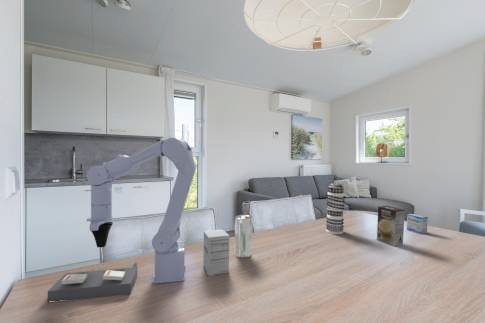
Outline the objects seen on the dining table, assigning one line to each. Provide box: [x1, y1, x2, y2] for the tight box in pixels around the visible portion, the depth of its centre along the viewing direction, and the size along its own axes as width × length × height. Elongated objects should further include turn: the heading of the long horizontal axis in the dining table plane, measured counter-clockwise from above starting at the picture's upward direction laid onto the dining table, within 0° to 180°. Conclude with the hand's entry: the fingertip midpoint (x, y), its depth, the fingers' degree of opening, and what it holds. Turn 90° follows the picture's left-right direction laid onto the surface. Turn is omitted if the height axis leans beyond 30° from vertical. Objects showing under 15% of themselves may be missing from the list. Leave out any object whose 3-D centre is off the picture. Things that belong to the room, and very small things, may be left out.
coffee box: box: [376, 205, 406, 247], centre depth 113 cm, size 9×6×16 cm
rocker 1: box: [62, 274, 87, 284], centre depth 68 cm, size 5×3×1 cm, turn 103°
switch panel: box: [47, 262, 138, 302], centre depth 75 cm, size 20×18×3 cm
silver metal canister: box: [234, 214, 253, 259], centre depth 96 cm, size 7×7×15 cm
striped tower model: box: [325, 182, 346, 235], centre depth 128 cm, size 9×9×25 cm
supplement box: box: [203, 228, 230, 276], centre depth 84 cm, size 7×7×13 cm
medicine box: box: [406, 213, 429, 235], centre depth 131 cm, size 8×4×9 cm, turn 25°
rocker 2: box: [103, 269, 125, 280], centre depth 70 cm, size 5×3×1 cm, turn 104°
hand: (101, 246), depth 78 cm, fingers closed
